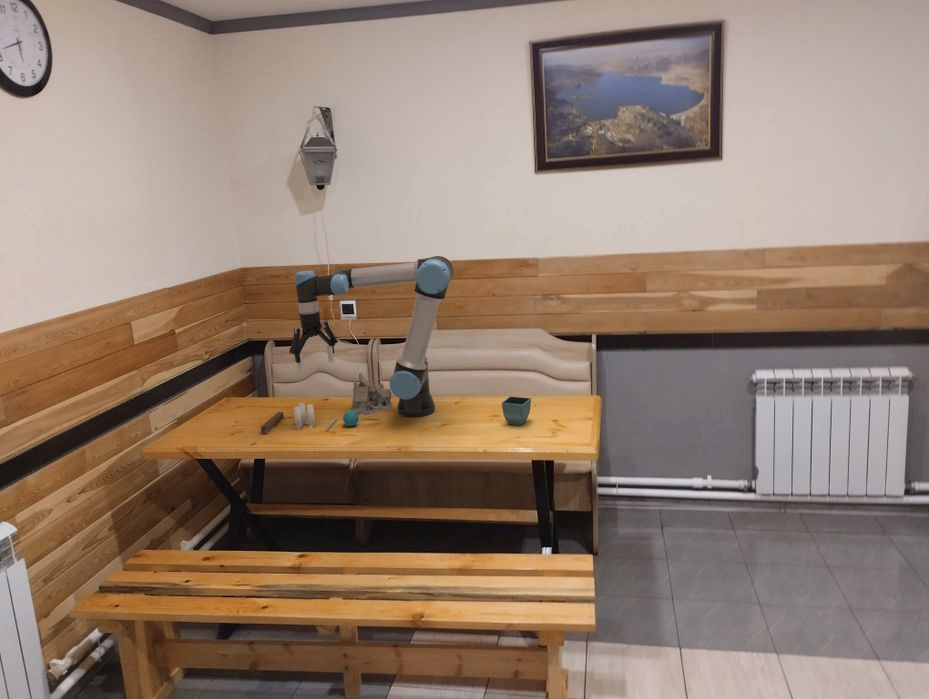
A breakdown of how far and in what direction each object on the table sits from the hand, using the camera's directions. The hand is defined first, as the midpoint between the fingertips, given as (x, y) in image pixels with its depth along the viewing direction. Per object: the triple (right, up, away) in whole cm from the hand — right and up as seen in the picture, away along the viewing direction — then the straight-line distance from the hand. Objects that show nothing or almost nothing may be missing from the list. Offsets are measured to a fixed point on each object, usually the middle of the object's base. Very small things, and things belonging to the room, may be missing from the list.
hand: (316, 366), depth 299 cm
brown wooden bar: (-18, -24, +7) cm, 31 cm away
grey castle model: (+19, -18, +21) cm, 33 cm away
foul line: (+5, -23, +3) cm, 24 cm away
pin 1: (-7, -24, +2) cm, 25 cm away
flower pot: (+77, -21, -7) cm, 80 cm away
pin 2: (-6, -23, +7) cm, 25 cm away
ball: (+13, -20, +1) cm, 24 cm away
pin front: (-2, -23, +4) cm, 24 cm away
